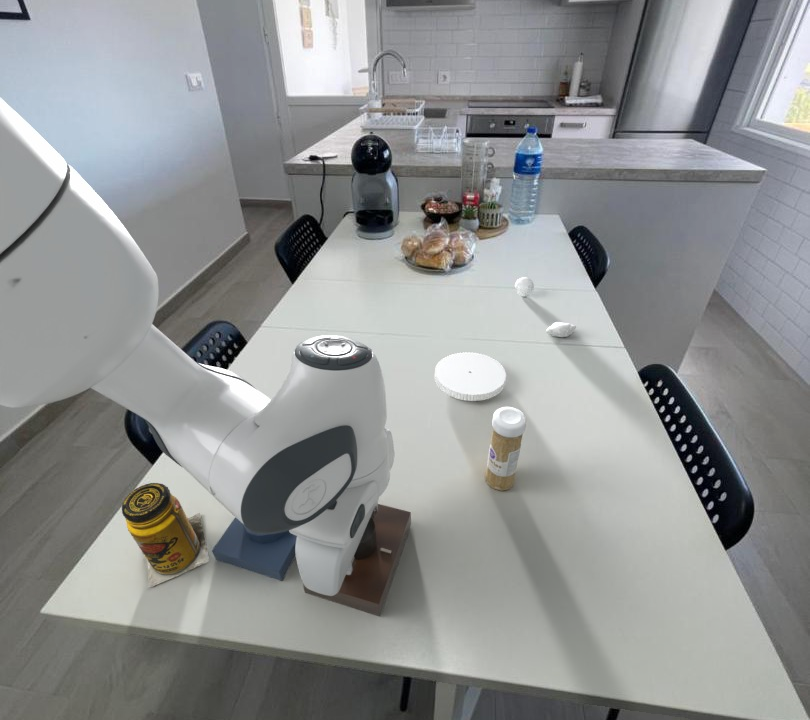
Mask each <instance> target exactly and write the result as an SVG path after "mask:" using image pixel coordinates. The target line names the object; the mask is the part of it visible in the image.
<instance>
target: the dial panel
mask: <svg viewBox="0 0 810 720" xmlns="http://www.w3.org/2000/svg"><path fill="white" fill-rule="evenodd" d="M373 520H374V523H375V530H376V540H377V544H376V548H375V550H374V552H373V553H372V554H371V555H370V556H368V557H366V558H364V559H355V566H354V568H353V571H352V573H351V575H347V574H346V576H345V578H344V580H343V583H342V585H341V588H340V590H339V592H338V593H337V594H335V595H334V596H328V595H323V594H320V593H317V592H314V591H312V590H309V589H308V588H306V587H305V586H304V584H303V582H302V581H301V583H302V587H303V590H304V593H305V594H308V595H312V596H314V597H317V598H321V599H323V600H327V601H329V602H333V603H336V604H338V605H339V604H340V605H341V606H345V607H348V608H351V609H355V610H358V611H361V612H364V613H368V614H370V615H373V616H377V617H381V615H382V613H383V610H384V606H385V604H386V601H387V597H388V595H389V592H390V589H391V586H392V582H393V580H394V578H395V575H396V571H397V568H398V566H399V562H400V560H401V556H402V553H403V550H404V548H405V543H406V541H407V538H408V535H409V532H410V529H411V526H412V512H411V511H408V510H403V509H400V508H396V507H392V506H389V505H384V504H381V503H378V511H377V513H376V515H375V518H373Z"/></svg>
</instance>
